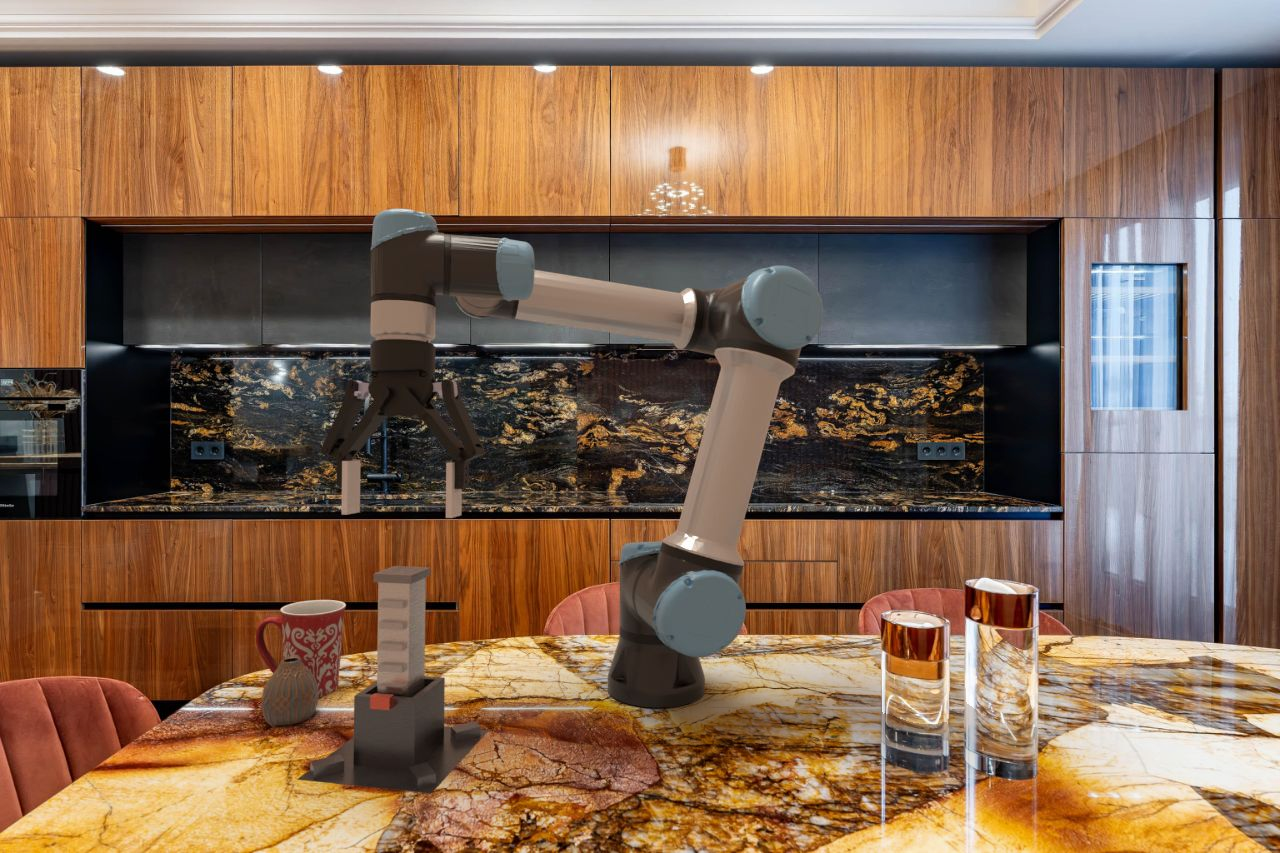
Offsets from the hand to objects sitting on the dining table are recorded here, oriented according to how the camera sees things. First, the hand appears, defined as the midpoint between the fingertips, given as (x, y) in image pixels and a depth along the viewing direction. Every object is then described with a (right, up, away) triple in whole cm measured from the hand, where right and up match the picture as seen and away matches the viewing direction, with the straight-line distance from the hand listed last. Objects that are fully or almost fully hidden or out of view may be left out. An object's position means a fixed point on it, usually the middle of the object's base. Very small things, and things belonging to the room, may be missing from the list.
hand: (401, 515), depth 84 cm
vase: (-18, -30, +10) cm, 36 cm away
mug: (-22, -30, +19) cm, 42 cm away
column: (0, -29, -1) cm, 29 cm away
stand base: (0, -30, -1) cm, 30 cm away
